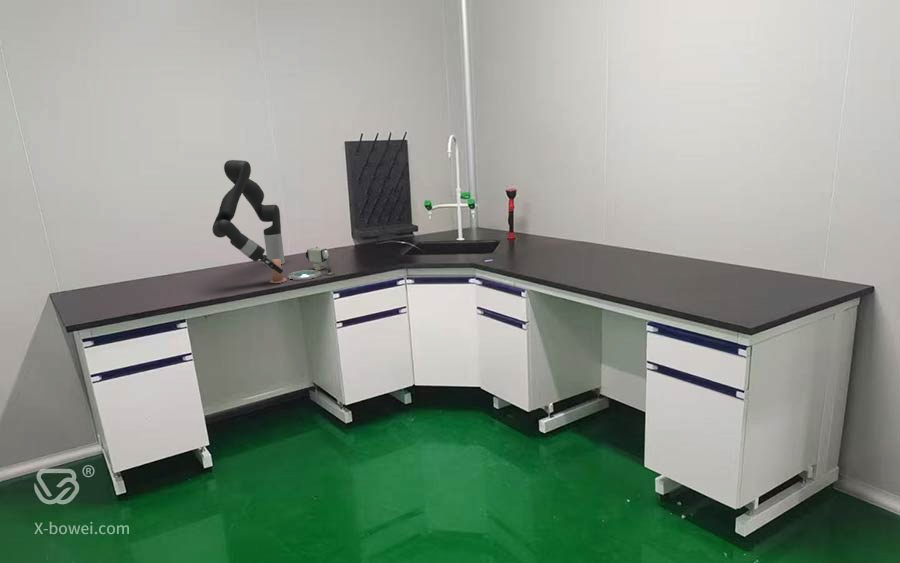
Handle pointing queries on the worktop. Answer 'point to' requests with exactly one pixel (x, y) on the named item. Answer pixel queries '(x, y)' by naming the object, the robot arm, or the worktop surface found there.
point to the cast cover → (277, 276)
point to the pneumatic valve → (316, 257)
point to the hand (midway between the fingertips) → (280, 271)
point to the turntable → (304, 274)
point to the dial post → (327, 256)
